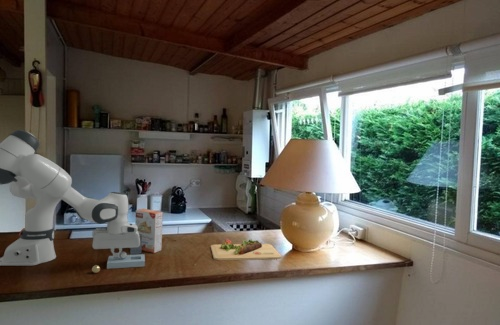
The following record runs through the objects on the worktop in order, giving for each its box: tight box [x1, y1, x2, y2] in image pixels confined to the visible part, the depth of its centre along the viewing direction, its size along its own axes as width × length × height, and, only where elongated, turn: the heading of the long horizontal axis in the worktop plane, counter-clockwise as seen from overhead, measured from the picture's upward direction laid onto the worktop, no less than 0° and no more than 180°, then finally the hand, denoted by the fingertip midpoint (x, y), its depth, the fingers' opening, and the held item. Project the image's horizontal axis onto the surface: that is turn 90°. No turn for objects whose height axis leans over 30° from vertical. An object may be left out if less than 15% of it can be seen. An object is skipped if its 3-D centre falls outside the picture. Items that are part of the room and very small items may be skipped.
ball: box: [120, 251, 128, 259], centre depth 157 cm, size 3×3×3 cm
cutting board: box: [210, 238, 283, 261], centre depth 183 cm, size 35×23×8 cm
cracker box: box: [134, 208, 164, 254], centre depth 179 cm, size 14×6×21 cm, turn 62°
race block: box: [129, 234, 142, 255], centre depth 167 cm, size 5×6×8 cm
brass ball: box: [91, 264, 101, 274], centre depth 145 cm, size 3×3×3 cm
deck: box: [106, 253, 146, 270], centre depth 158 cm, size 16×10×2 cm, turn 108°
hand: (116, 257), depth 156 cm, fingers closed
